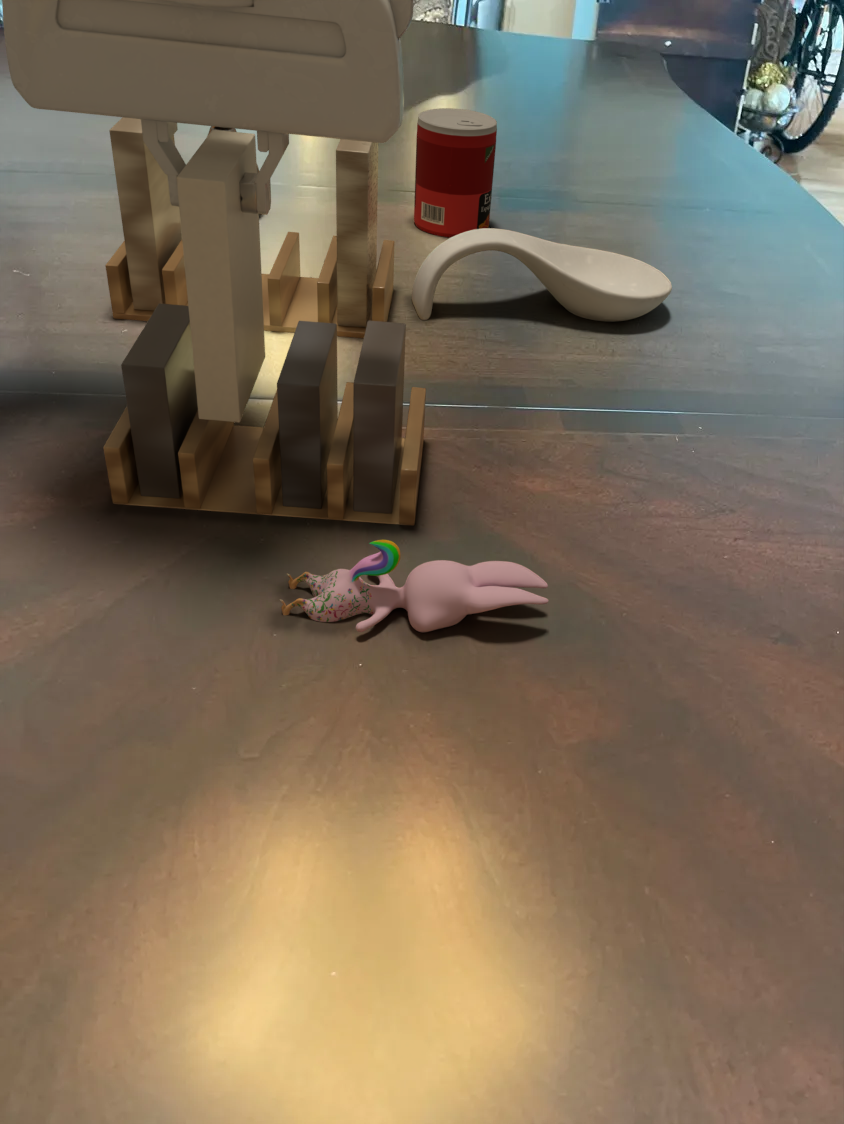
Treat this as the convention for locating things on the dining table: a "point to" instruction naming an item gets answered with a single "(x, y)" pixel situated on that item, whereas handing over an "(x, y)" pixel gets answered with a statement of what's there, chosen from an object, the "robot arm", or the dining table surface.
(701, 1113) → the dining table surface
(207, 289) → the white book
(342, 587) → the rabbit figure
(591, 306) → the spoon rest
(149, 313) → the wooden slotted rack
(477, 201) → the canned food
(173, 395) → the brown wooden book rack
